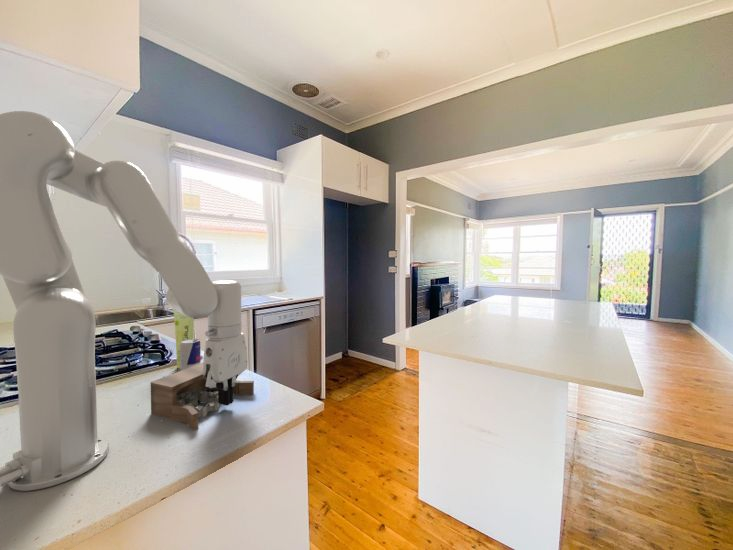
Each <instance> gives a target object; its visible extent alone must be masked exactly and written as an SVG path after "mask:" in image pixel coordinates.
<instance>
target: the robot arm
mask: <svg viewBox="0 0 733 550" xmlns="http://www.w3.org/2000/svg"><path fill="white" fill-rule="evenodd" d="M73 142H74V141H73V140H72V138H71V137H70V135H69V134H68V132H67V131H66V130H65V128H64V127H62V126H61V125H60V124H59V123H58V122H56V121H55V120H53V119H52V118H49V117H47V116H46V115H43V114H41V113H37V112H32V111H27V110H26V111H25V110H17V111H16V110H14V111H9V112H3V113H0V276H2V278H3V280H4V283H5V285H6V288H7V290H8V292H9V294H10V297H11V299H12V301H13V304H14V307H15V308H16V312H15V314H14V319H13V324H12V325H13V329H12V330H13V341H14V342H13V343H14V350H15V363H16V377H17V379H16V380H17V390H18V392H17V393H18V413H19V430H20V434H19V435H20V450H18V451H16V452H13V453H12V460H9V461H8V462H5V465H4V466H1V467H0V488H1V487H4V486H5V485H8V487H10V489H13V490H14V491H21V492H22V491H23V492H24V491H34V490H35V491H36V490H40V489H46V488H50V487H53V486H56V485H60V484H63V483H64V482H67V481H69V480H73V479H74V478H77V477H79V476H81V475H82V474H84V473H86V472H88V471H90V470H92V469H93V468H95V467H96V466H97V465H98V464H99V463H101V462H102V461H103V460H104V459H105V458H106V457H107V455H108V453H109V442H108V441H107V440H105V439H103V438H100V437H98V413H97V411H98V410H97V409H98V407H97V406H98V405H97V404H98V403H97V383H96V382H97V381H96V379H97V377H96V355H95V354H96V327H97V326H96V324H97V323H96V314H95V310H94V307H93V305H92V304H91V302H90V301H89V299H88V298H87V297H86V294H85V291H84V289H83V286H82V283H81V280H80V277H79V275H78V271H77V268H76V266H75V264H74V261H73V260H74V259H73V253H72V250H71V248H70V245H68V243H67V242H66V239H65V237H64V236H63V232H62V230H61V228H60V224H59V223H58V220H57V218H56V215H55V211H54V207H53V203H52V201H51V198H50V195H49V191H48V188H47V185H49V186H50V187H54V188H56V189H59V190H61V191H64V192H66V193H68V194H71V195H74V196H76V197H78V198H81V199H84V200H87V201H89V202H92V203H95V204H96V205H100V206H103V207H106V209H107V210H108V211H109V213H110V214H111V216H112V217H113V219H114V221H115V222H116V224H117V225H118V227H119V228H120V230H121V232H122V234H123V235H124V236H125V238H126V240H127V241H128V243H129V245H130V246H131V248H132V249H133V250H134V252H136V254H137V255H138V256H139V257H141V258H142V259H143V260H144V261H145V262H147V264H149V266H151V267H152V268H153V269H154V270H155V271H156V273H157V274H158V275H159V277H160V278H161V279H162V280H163V281H164V283H165V285H166V286H167V289H168V290H167V292H166V294H165V301H166V304H167V305H168V306H169V307H170V309H172V311H173V310H175V311H176V312H179V313H181V314H183V315H185V316H187V317H190V318H194V320H195V319H198V320H199V319H203V318H206V317H207V330H206V331H205V332H204V335H205V337H207V338H206V339H205V344H204V345H205V346H204V348H203V349H204V351H203V361H202V363H203V375H204V379H205V380H207V381H206V387H207V388H214V387H216V389H218V391H217V392H218V403H219V405H223V406H230V405H231V404H232V403H234V394H233V387H234V386H235V382H236V380H237V379H238V377H239V376H240V375H241V374H242V373H243V372H245V371H246V370H247V369H248V352H247V342H246V338H245V334H244V332H243V331H242V286H241V283H240V282H239V281H236V280H229V279H228V280H224V279H223V280H214V281H213V280H212V281H211V279H210V276H209V274H208V273H207V271H206V269H205V268H204V266H203V265H202V263H201V261H200V260H199V258H198V257H197V255H196V254H194V251H192V250H191V248H190V247H189V245H188V244H187V242H186V241H185V239H184V238H183V237H182V236H181V235H180V234H179V232H178V230H177V229H176V227H175V225H174V224H173V222H172V221H171V218H170V217H169V215H168V212H167V211H166V210H165V207H164V206H163V204H162V202H161V201H160V199H159V197H158V195H157V193H156V191H155V190H154V188H153V186H152V183H150V181H149V179H148V178H147V176H146V174H145V173H144V172H143V170H141V169H140V168H139V167H138V166H137V165H135V164H134V163H131V162H128V161H124V160H111V161H108V162H102V161H99V160H97V159H95V158H93V157H91V156H89V155H86V154H85V153H83V152H81V151H79V150H76V148H75V145H74V143H73Z"/></svg>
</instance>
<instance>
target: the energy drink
mask: <svg viewBox="0 0 733 550" xmlns="http://www.w3.org/2000/svg"><path fill="white" fill-rule="evenodd" d="M201 359H202V358H201V340H200V339H199V338H194V339H186V340H182V341H181V343H180V368H179V369H180V370H179V371H182V370H184V369H187V368H189V367H192V366H195V365H197V364H200V363H202V361H201Z"/></svg>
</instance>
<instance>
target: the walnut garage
mask: <svg viewBox="0 0 733 550" xmlns="http://www.w3.org/2000/svg"><path fill="white" fill-rule="evenodd" d="M206 381H207V380H205V379H204V375H203V362H201V363H200V364H197V365H195V366H192V367H189V368H187V369H184V370H182V371H180V370H179V371H176V372H174V373H171V374H169V375H166V376H164V377H161V378H159V379H156V380H153V381H151V382H150V414H151V415H154V416H159V417H160V418H161V417H162V418H166V419H169V420H172V421H177V422H179V423H183V424H187V425H188V427H189V428H190V429H191V431H194V430H197V429H199V417H198V412H197V411H196V410H195V409H194V407H192V406H188V405H185V404H181V403H177V395H178V394H182V393H184V392H185V393H186V392H187V391H190V392H192V391H193V390H194V389H195V390H197V391H198V392H200V391H208V390H213V391H216V390H217V392H218V389H216V387H214V388H207V387H206ZM254 382H255V380H237V379H236V382H235V386H234V387H233V396H234V395H236V396H253V395H254V392H255V390H254V389H255V386H254V384H255V383H254ZM207 389H208V390H207Z"/></svg>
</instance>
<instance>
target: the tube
mask: <svg viewBox="0 0 733 550" xmlns="http://www.w3.org/2000/svg"><path fill="white" fill-rule="evenodd" d="M172 311H173V318H174V331H175V332H174V334H175V344H176V345H175V350H176V367H177V369H180V343H181V341H182V340H186V339H195V338H194V336H195V335H194V334H195V333H194V332H195V331H194V328H195V323H194V322H195V318H190V317H187V316H185V315H183V314H181V313H179V312H176V311H175V310H173V309H172Z"/></svg>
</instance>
